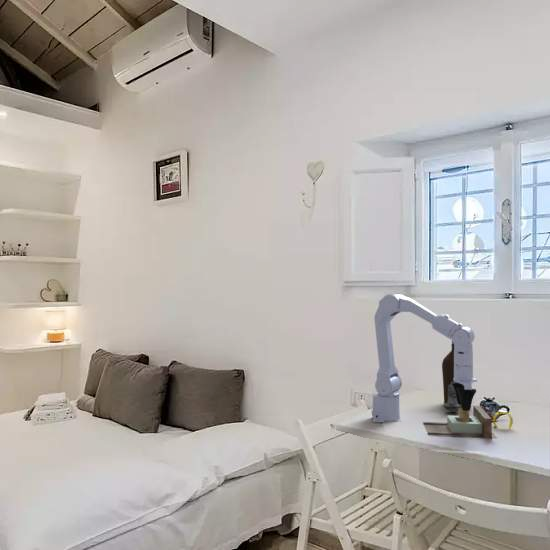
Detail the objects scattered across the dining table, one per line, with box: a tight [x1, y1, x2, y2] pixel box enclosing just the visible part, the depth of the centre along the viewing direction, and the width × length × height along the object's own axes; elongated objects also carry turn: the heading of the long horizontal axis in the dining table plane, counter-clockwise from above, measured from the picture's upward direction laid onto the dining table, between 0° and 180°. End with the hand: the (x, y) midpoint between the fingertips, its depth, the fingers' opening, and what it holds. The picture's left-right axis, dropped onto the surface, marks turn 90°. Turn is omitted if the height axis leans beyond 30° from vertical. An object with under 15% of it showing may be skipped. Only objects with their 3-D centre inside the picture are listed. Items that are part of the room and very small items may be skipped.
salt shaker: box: [443, 382, 461, 415], centre depth 187 cm, size 6×6×12 cm
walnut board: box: [422, 405, 498, 440], centre depth 167 cm, size 20×16×7 cm
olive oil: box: [441, 341, 462, 408], centre depth 200 cm, size 11×11×25 cm
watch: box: [492, 409, 514, 429], centre depth 169 cm, size 6×3×6 cm, turn 86°
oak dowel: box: [458, 407, 470, 422], centre depth 166 cm, size 3×3×6 cm
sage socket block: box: [446, 414, 482, 434], centre depth 166 cm, size 9×9×3 cm
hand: (463, 407), depth 166 cm, fingers open, 7 cm apart
